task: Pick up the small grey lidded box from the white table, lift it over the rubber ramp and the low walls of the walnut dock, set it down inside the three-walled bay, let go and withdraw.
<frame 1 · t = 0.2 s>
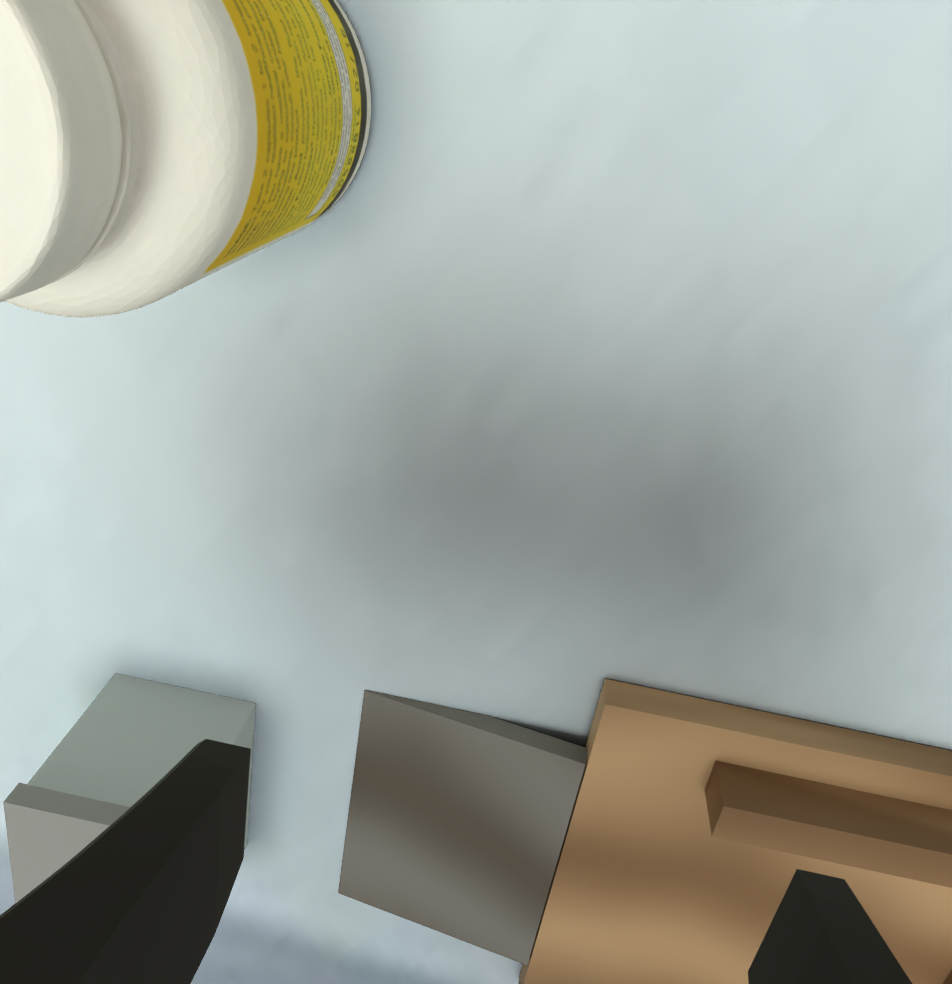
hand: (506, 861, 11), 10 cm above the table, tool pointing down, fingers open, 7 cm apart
supplement bottle: (245, 95, 17), on the table
dock: (766, 889, 25), on the table
grey lidded box: (185, 760, 25), on the table
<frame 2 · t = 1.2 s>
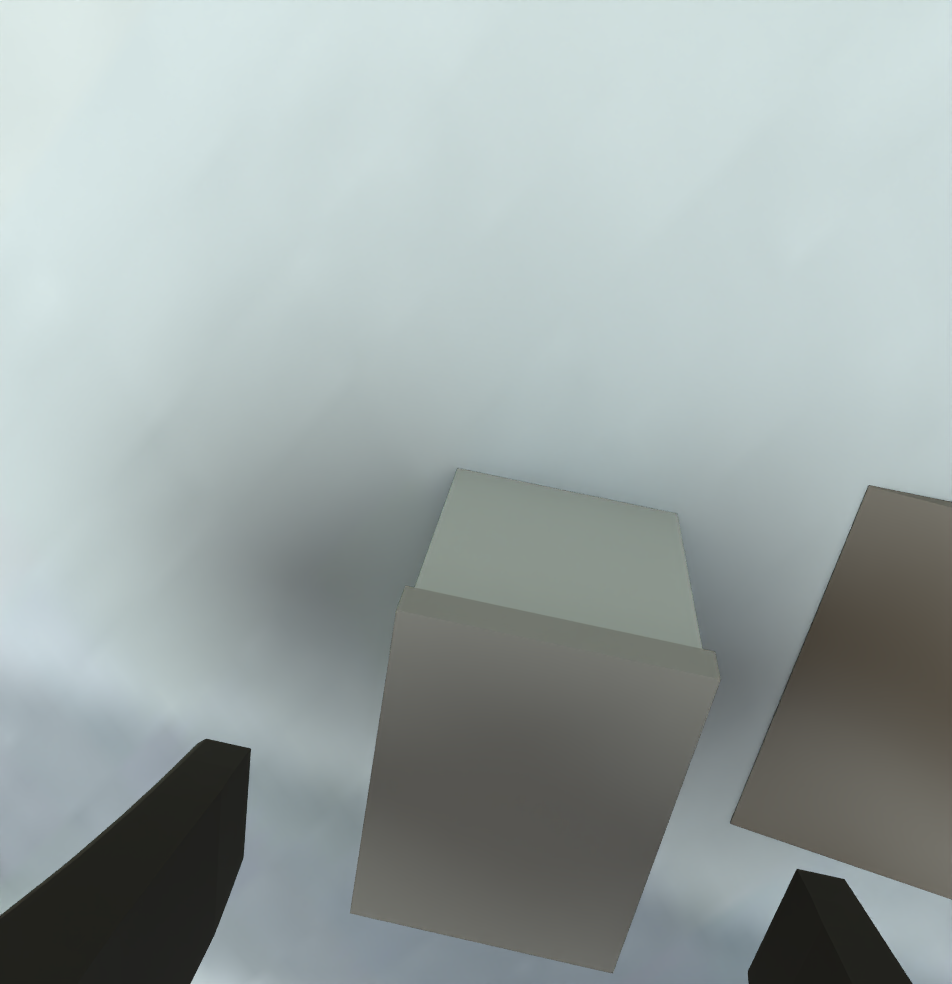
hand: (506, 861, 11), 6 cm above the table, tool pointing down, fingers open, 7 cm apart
grey lidded box: (536, 614, 17), on the table
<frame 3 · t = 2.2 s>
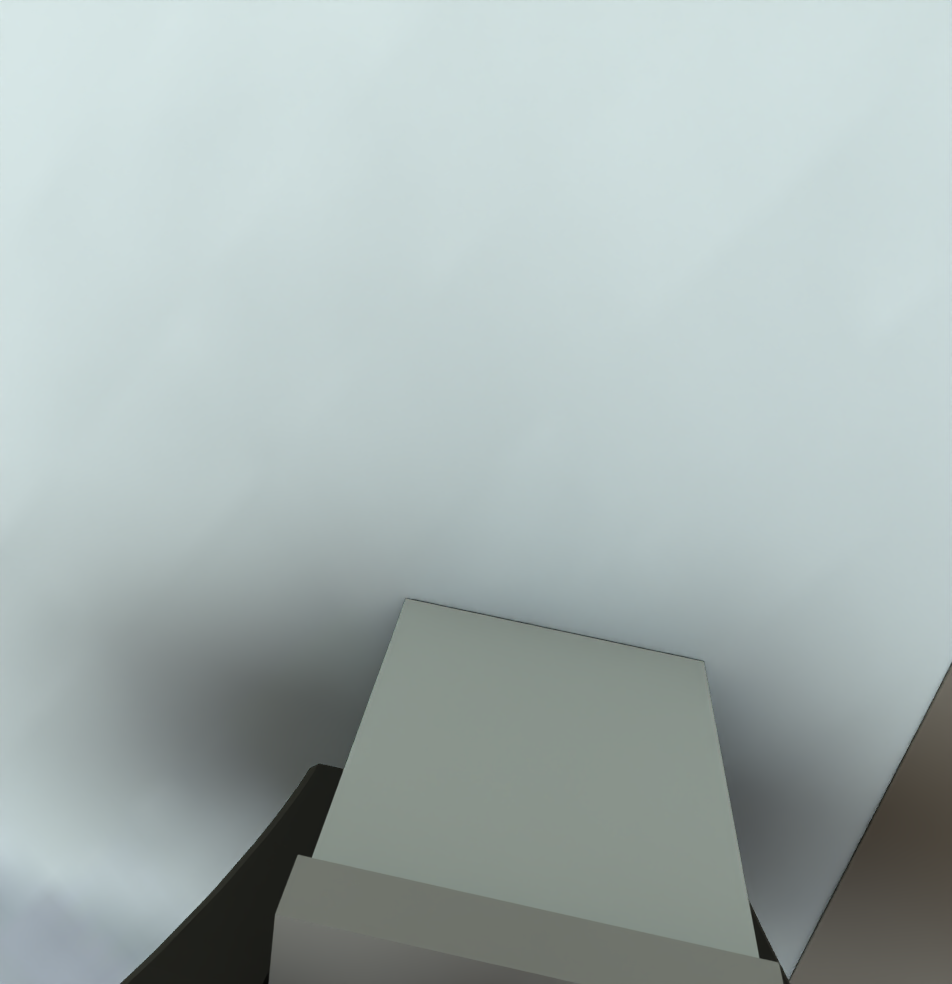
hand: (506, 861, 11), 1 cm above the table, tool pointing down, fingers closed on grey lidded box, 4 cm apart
grey lidded box: (515, 782, 13), on the table, touching gripper
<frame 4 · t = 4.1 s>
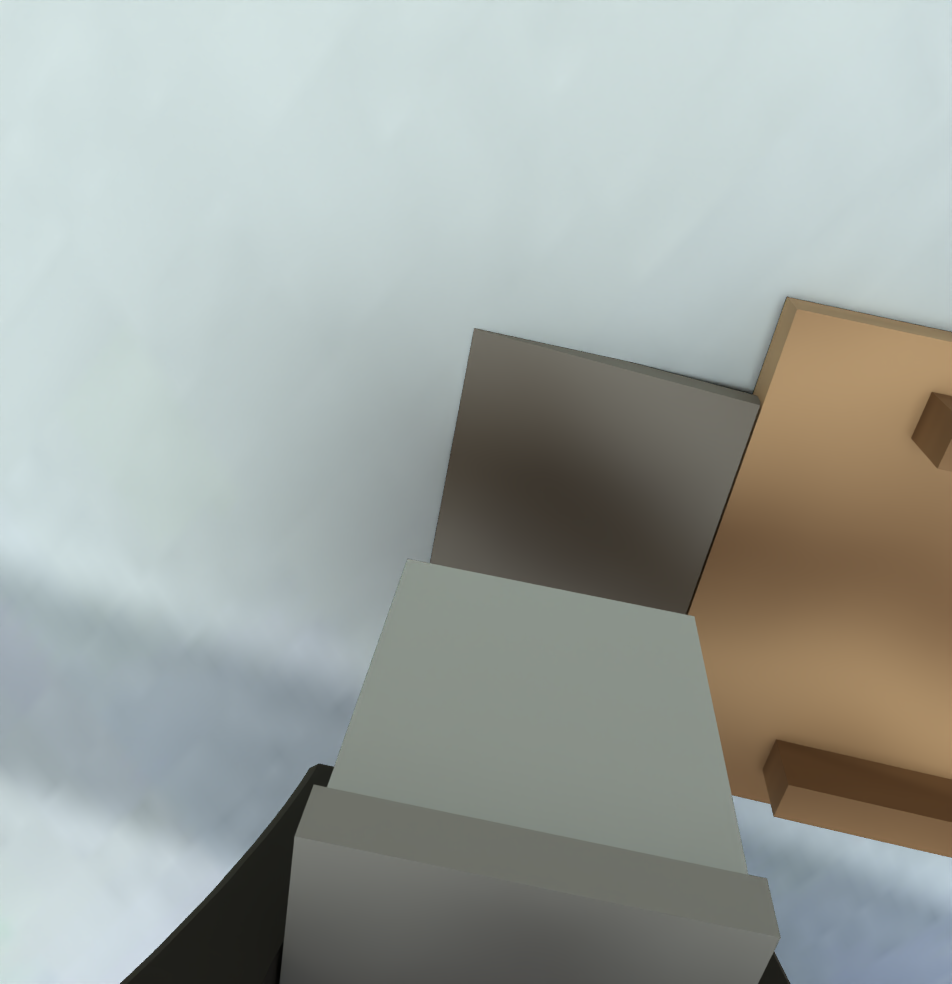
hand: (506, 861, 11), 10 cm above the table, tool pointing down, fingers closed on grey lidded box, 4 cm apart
grey lidded box: (513, 738, 13), point 8 cm above the table, touching gripper
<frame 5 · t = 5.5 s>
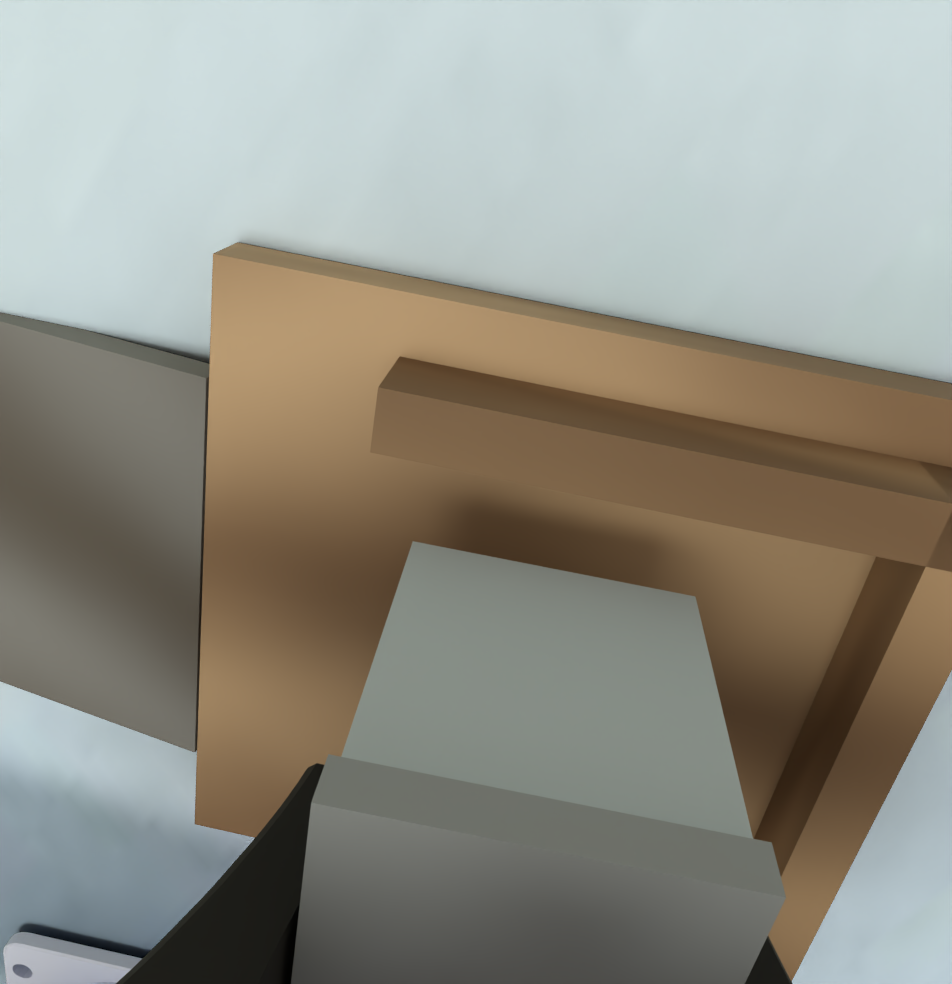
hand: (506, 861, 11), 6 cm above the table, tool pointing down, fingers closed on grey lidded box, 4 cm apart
dock: (531, 624, 16), on the table
grey lidded box: (517, 719, 13), point 3 cm above the table, touching gripper
when the fingers open (4 cm above the table, at t = 6.3 s): grey lidded box stays where it is, resting on dock.
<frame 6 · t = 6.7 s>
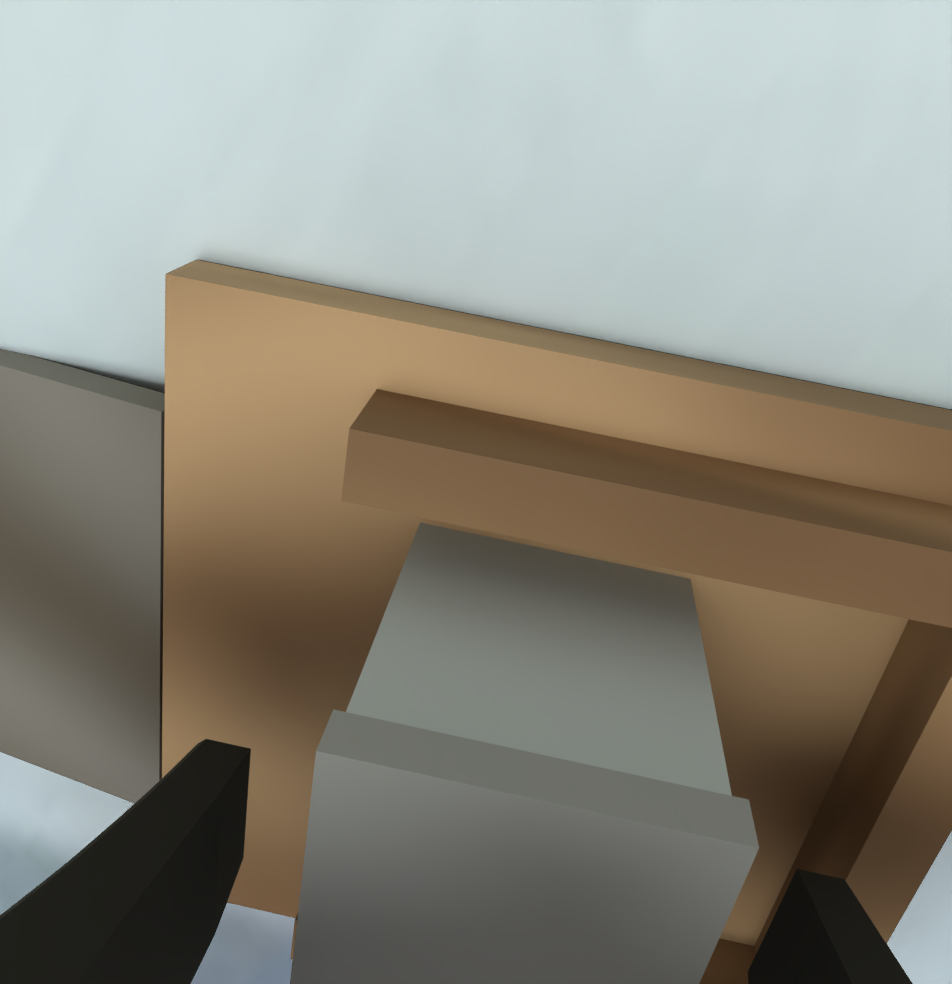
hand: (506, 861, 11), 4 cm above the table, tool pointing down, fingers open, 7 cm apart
dock: (527, 677, 15), on the table
grey lidded box: (519, 697, 14), point 1 cm above the table, touching dock
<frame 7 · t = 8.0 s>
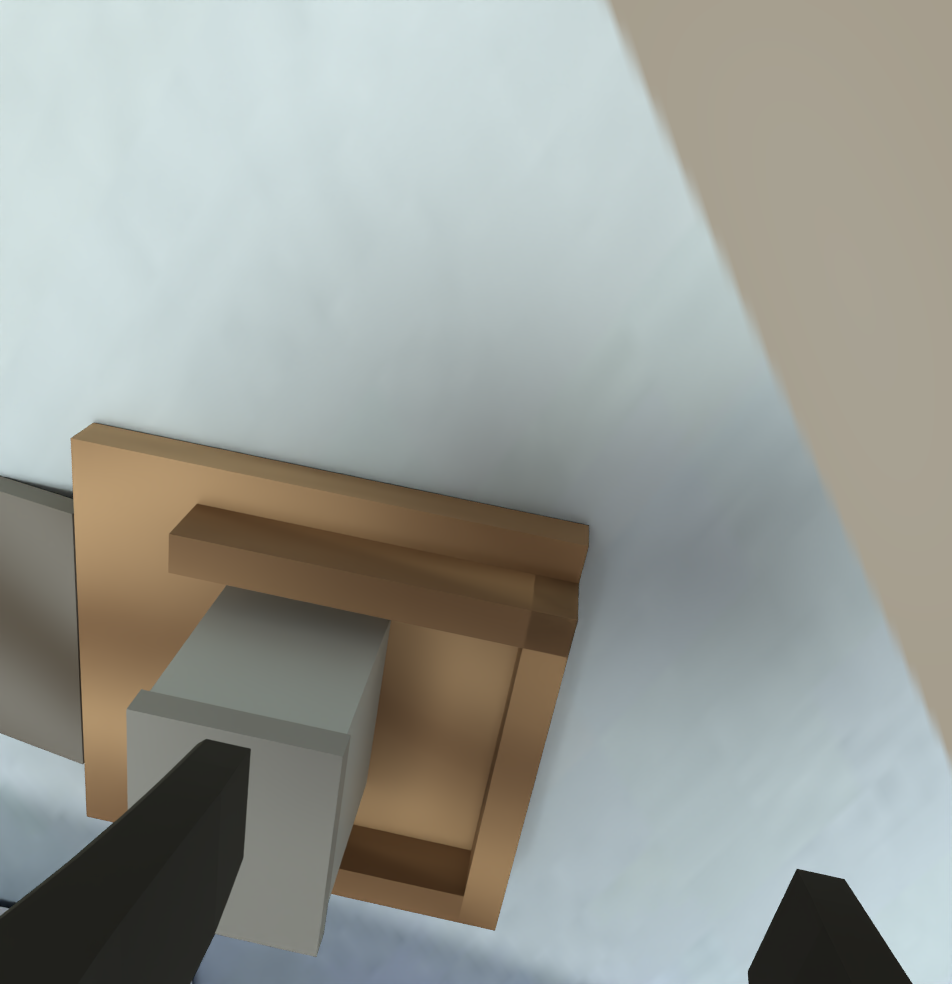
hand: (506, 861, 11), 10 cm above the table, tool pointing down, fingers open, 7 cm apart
dock: (316, 674, 23), on the table
grey lidded box: (301, 686, 22), point 1 cm above the table, touching dock
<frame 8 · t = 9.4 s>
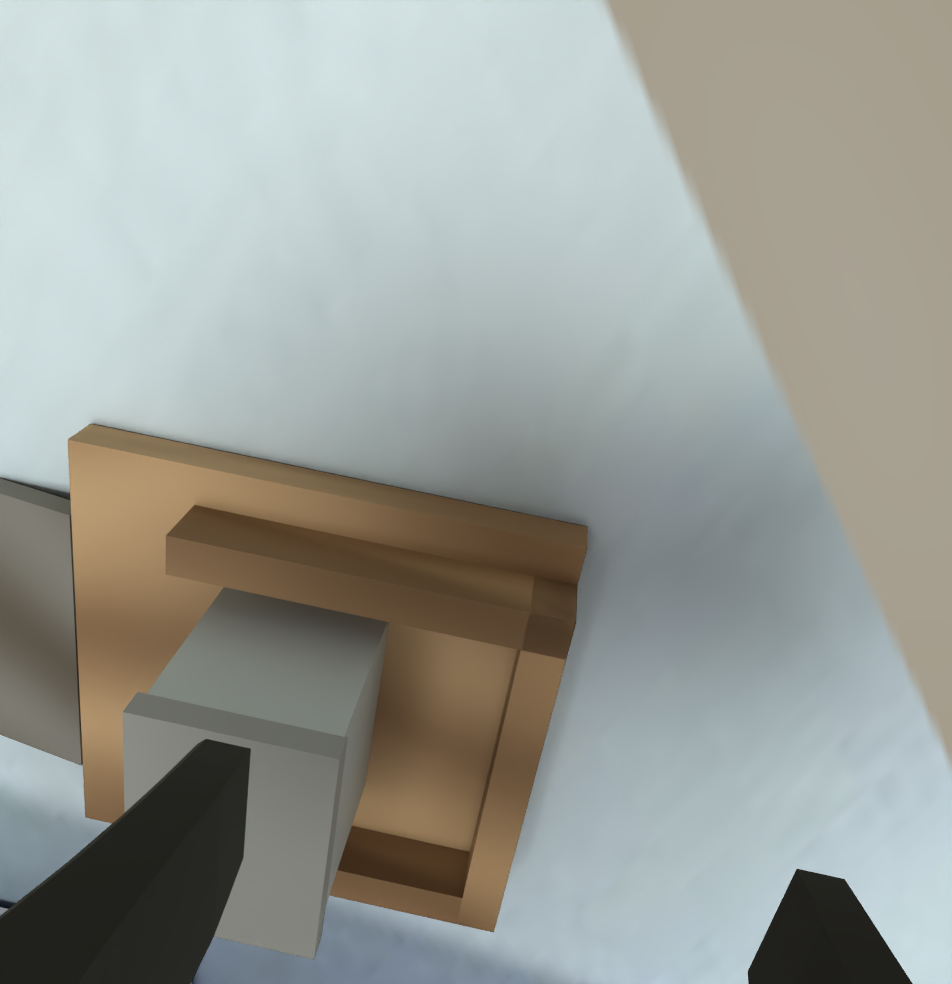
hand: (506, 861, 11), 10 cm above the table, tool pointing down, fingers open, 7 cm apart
dock: (314, 675, 23), on the table
grey lidded box: (299, 688, 22), point 1 cm above the table, touching dock
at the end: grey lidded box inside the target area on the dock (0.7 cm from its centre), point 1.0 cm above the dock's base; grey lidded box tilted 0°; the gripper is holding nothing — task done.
